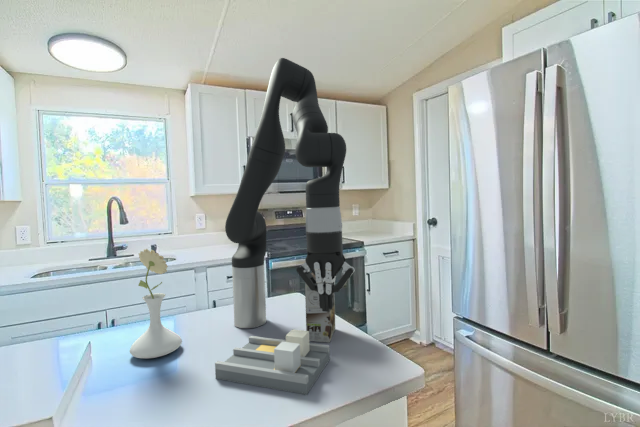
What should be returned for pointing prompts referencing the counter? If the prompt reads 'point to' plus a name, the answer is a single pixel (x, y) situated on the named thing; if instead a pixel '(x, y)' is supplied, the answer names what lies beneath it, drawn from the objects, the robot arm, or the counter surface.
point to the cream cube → (299, 340)
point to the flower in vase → (154, 316)
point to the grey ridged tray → (272, 366)
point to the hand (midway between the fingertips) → (327, 310)
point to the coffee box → (318, 317)
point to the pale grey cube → (287, 357)
